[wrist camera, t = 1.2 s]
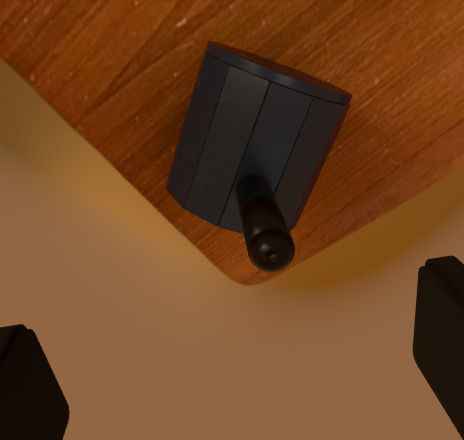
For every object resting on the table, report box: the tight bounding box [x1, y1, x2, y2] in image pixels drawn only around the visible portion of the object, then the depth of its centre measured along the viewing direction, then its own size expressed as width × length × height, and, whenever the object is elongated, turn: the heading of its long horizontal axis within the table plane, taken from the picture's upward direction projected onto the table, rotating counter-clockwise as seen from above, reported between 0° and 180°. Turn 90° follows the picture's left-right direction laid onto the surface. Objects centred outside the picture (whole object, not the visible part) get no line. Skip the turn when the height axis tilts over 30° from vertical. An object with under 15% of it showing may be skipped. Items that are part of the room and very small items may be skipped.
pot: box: [166, 41, 352, 273], centre depth 26 cm, size 10×10×18 cm
